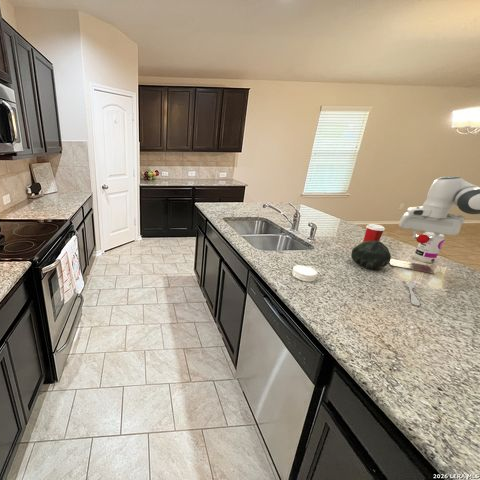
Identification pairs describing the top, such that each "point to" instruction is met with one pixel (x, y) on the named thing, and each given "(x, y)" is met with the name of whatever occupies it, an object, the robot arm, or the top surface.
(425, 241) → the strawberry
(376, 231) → the coffee cup
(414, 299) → the fork
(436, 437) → the top surface
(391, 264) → the serving board
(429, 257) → the supplement can
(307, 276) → the coaster
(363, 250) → the squash
